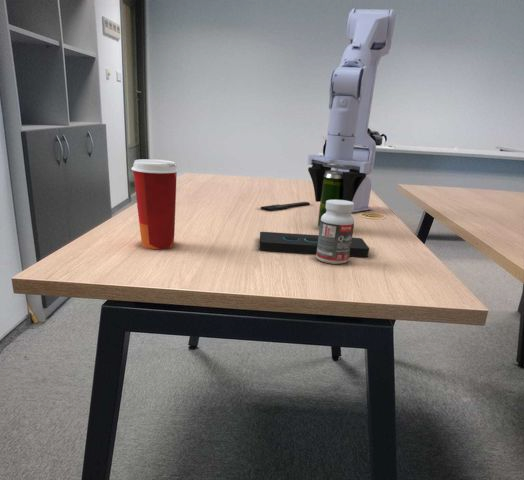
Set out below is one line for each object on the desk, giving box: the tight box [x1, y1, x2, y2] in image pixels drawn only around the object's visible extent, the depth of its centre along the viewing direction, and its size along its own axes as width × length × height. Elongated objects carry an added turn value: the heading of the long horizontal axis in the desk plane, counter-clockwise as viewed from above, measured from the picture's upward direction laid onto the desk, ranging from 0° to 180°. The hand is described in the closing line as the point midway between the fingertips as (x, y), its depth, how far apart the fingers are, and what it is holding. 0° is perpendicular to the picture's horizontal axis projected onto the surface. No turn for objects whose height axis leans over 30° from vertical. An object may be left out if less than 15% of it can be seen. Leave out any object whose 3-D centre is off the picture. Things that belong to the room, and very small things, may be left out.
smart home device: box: [258, 231, 370, 258], centre depth 89 cm, size 8×2×20 cm
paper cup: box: [131, 158, 179, 250], centre depth 81 cm, size 8×8×14 cm
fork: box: [260, 201, 310, 212], centre depth 124 cm, size 17×3×1 cm, turn 136°
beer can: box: [317, 169, 344, 230], centre depth 102 cm, size 5×5×12 cm
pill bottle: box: [315, 200, 355, 265], centre depth 81 cm, size 6×6×10 cm
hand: (332, 204), depth 102 cm, fingers open, 7 cm apart
